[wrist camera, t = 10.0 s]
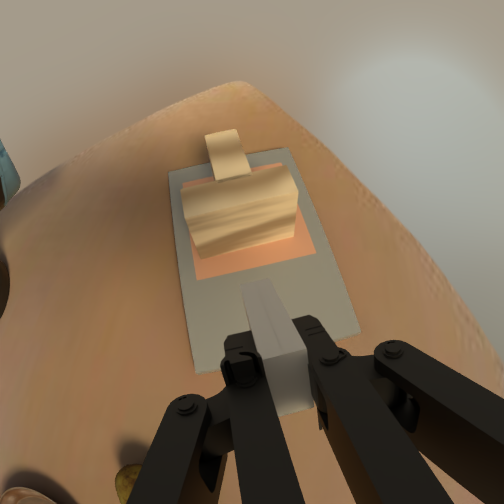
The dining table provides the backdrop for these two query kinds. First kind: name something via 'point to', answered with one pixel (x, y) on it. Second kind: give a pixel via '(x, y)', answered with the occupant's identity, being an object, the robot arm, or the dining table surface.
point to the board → (257, 271)
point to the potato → (126, 481)
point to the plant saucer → (24, 497)
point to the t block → (238, 201)
